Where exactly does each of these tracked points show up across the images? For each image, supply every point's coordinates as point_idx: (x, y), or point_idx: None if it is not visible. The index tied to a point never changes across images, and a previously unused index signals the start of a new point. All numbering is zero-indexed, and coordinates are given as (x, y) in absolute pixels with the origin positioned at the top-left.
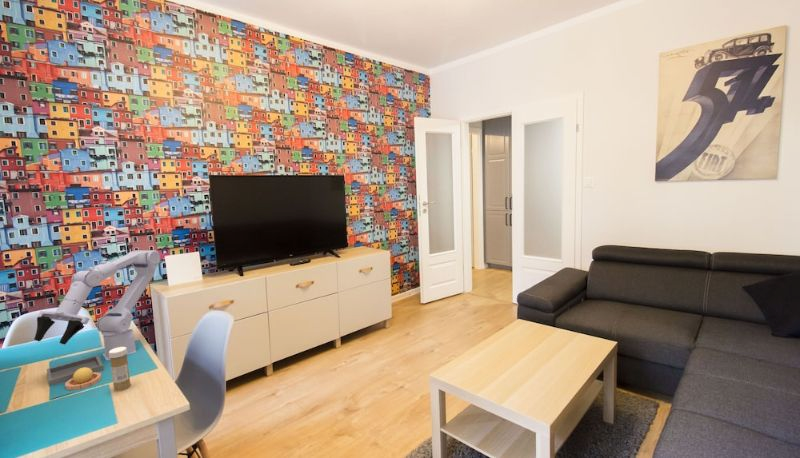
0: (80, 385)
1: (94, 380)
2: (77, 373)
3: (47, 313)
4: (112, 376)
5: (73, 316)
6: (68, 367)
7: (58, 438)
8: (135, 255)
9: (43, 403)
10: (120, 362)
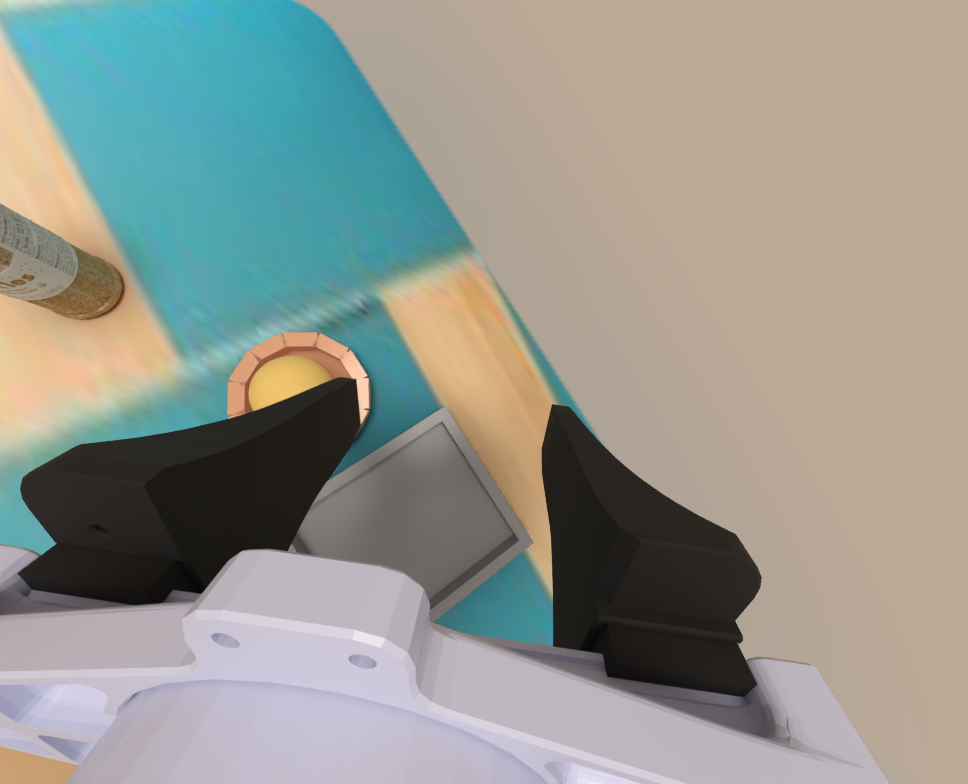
0: (284, 336)
1: (237, 366)
2: (295, 362)
3: (689, 721)
4: (36, 226)
5: (53, 622)
6: (462, 574)
7: (191, 10)
8: None
9: (387, 276)
10: None
